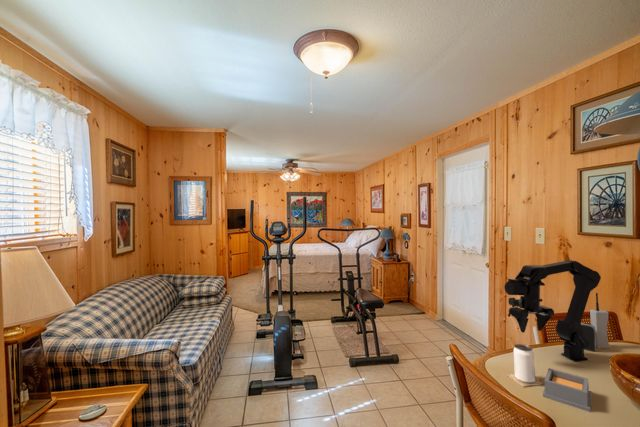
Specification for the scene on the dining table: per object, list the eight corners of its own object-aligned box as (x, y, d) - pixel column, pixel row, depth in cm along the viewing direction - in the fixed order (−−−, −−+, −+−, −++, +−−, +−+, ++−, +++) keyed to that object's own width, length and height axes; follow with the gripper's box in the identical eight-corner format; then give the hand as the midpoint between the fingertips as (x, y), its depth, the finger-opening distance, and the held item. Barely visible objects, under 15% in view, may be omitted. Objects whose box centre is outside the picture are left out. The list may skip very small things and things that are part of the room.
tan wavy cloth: (524, 373, 114) (524, 372, 114) (542, 384, 106) (542, 383, 106) (506, 375, 113) (506, 374, 113) (523, 387, 105) (523, 386, 105)
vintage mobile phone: (610, 348, 130) (607, 294, 131) (597, 348, 131) (594, 293, 132) (604, 345, 134) (601, 291, 134) (591, 344, 135) (589, 291, 135)
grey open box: (547, 381, 108) (546, 366, 108) (591, 394, 99) (590, 378, 99) (542, 396, 99) (542, 380, 99) (590, 412, 91) (589, 394, 91)
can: (513, 372, 114) (511, 342, 114) (532, 375, 111) (531, 344, 111) (517, 381, 108) (515, 349, 108) (537, 384, 105) (536, 352, 105)
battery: (597, 349, 130) (595, 324, 130) (595, 352, 128) (594, 326, 128) (577, 344, 136) (575, 320, 136) (575, 347, 133) (573, 322, 133)
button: (553, 382, 105) (553, 376, 105) (583, 391, 99) (582, 384, 99) (550, 392, 99) (550, 386, 99) (581, 402, 94) (581, 395, 94)
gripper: (530, 289, 134) (529, 323, 133) (498, 291, 129) (497, 326, 129) (555, 296, 123) (554, 332, 123) (521, 298, 118) (520, 336, 118)
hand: (531, 331), depth 123 cm, fingers open, 9 cm apart
